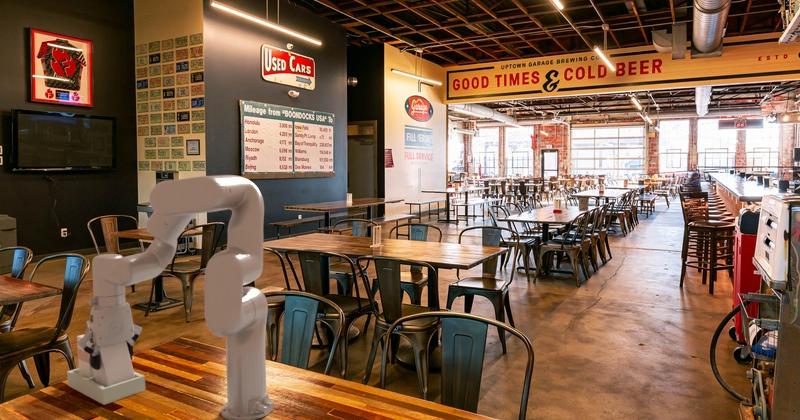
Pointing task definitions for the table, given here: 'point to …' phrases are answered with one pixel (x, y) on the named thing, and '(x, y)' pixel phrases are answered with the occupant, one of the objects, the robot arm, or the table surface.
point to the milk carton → (113, 363)
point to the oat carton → (84, 361)
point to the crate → (105, 393)
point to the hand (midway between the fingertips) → (112, 363)
